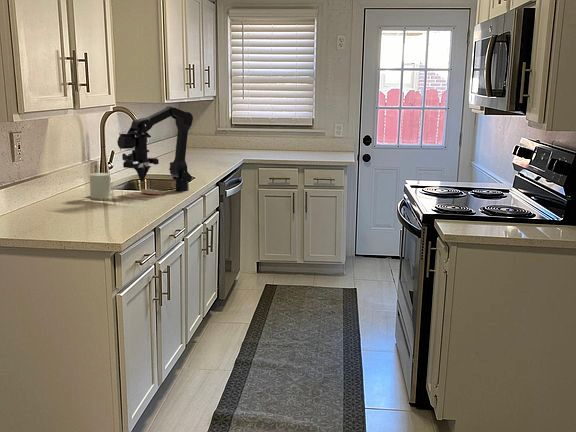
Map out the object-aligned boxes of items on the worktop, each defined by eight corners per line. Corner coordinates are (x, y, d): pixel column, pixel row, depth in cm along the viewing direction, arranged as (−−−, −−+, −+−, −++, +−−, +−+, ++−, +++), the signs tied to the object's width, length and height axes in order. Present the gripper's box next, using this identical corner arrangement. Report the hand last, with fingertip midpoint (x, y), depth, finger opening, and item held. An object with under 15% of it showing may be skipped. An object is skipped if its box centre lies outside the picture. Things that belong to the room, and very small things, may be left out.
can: (86, 199, 266) (84, 173, 264) (103, 196, 273) (102, 171, 271) (98, 201, 261) (96, 175, 258) (115, 199, 268) (114, 173, 265)
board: (136, 194, 280) (136, 192, 280) (166, 197, 273) (166, 195, 272) (114, 199, 267) (114, 196, 267) (146, 203, 259) (146, 200, 259)
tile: (140, 192, 275) (152, 193, 284) (154, 194, 272) (166, 194, 280) (141, 189, 275) (153, 189, 284) (154, 190, 272) (166, 191, 280)
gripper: (139, 145, 277) (141, 177, 281) (112, 148, 261) (114, 182, 264) (158, 146, 273) (159, 179, 276) (132, 149, 256) (133, 184, 259)
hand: (141, 181), depth 269 cm, fingers closed
